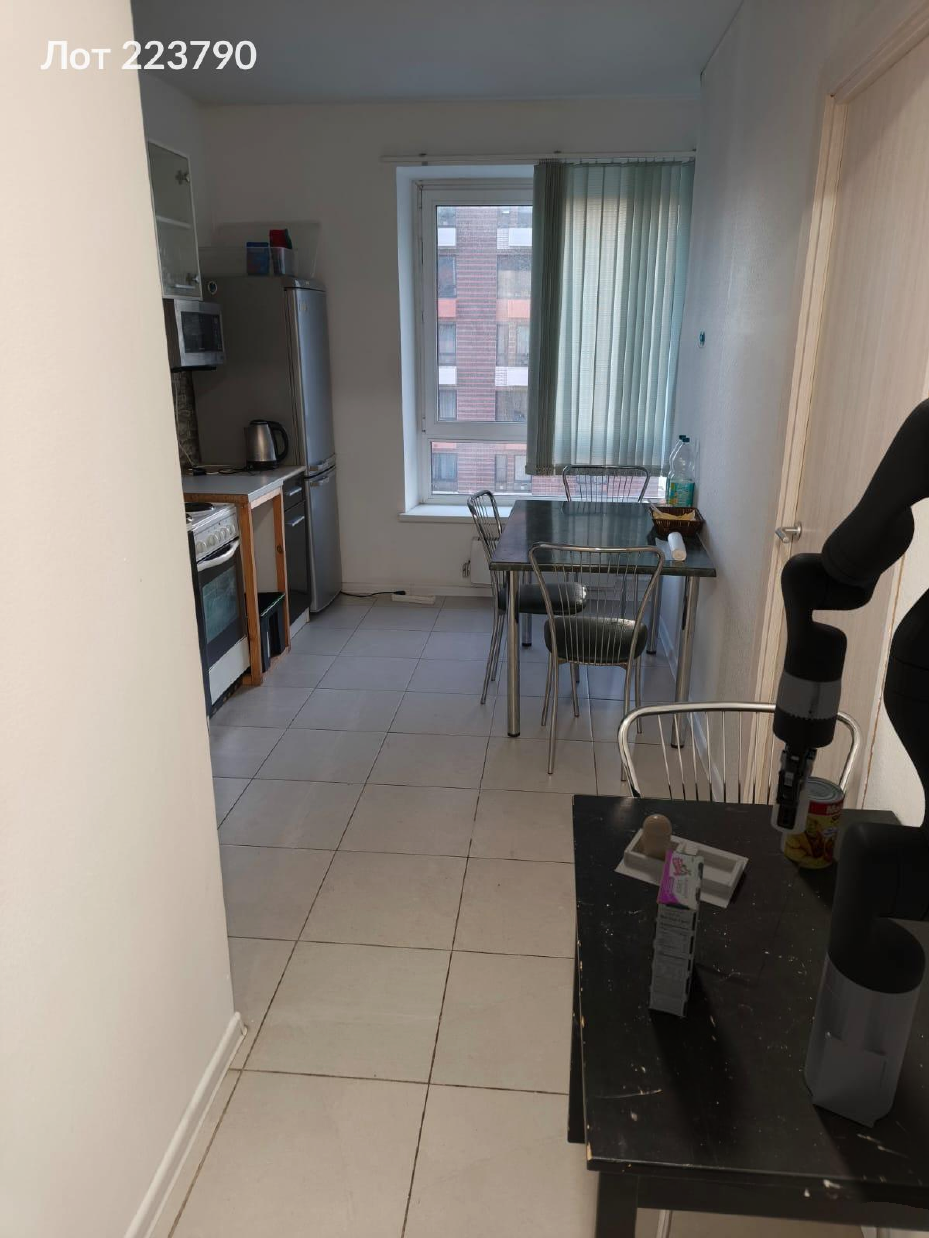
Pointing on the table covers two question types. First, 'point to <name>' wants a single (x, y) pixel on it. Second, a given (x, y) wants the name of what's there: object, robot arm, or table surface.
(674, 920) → the candy bar box
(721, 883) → the white holder tray
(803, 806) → the white capsule
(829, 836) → the canned food
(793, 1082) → the table surface
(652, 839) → the tan capsule
